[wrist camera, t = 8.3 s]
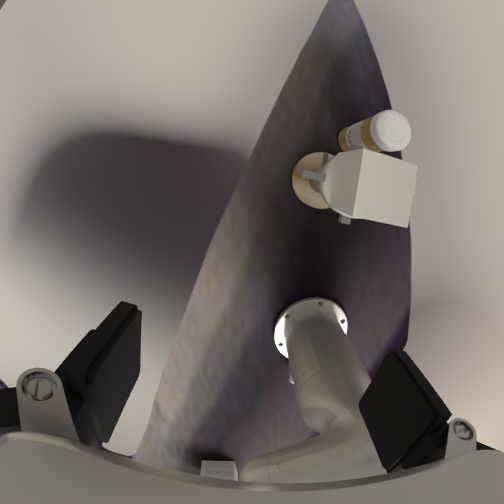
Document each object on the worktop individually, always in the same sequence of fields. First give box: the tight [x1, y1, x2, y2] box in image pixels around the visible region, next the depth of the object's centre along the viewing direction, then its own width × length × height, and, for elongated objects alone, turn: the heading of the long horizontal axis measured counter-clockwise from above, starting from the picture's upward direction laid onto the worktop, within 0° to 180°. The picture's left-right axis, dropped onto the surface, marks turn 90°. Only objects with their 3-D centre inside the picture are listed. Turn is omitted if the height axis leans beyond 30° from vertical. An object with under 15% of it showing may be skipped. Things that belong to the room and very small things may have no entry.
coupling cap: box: [301, 144, 418, 228], centre depth 22 cm, size 9×8×8 cm
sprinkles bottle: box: [338, 110, 411, 152], centre depth 30 cm, size 5×5×13 cm
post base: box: [292, 152, 333, 209], centre depth 32 cm, size 8×8×12 cm
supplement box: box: [200, 460, 237, 481], centre depth 51 cm, size 9×9×15 cm
